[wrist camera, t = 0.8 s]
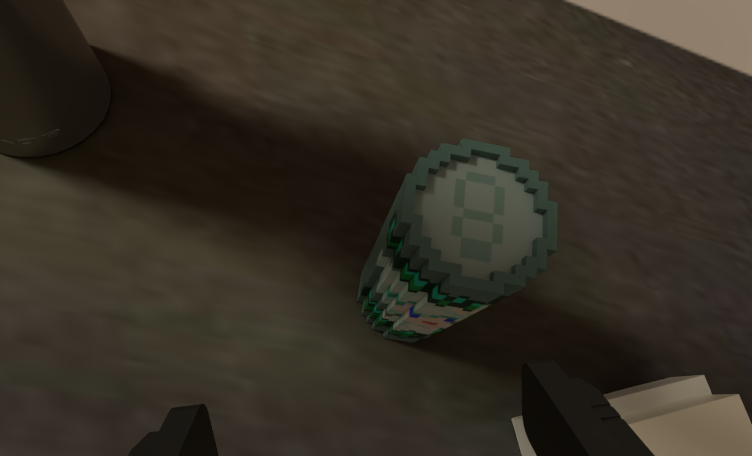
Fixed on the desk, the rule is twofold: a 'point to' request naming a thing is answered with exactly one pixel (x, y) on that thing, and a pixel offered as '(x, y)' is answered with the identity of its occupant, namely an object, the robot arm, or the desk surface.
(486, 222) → the can
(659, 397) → the tower base
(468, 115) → the desk surface
